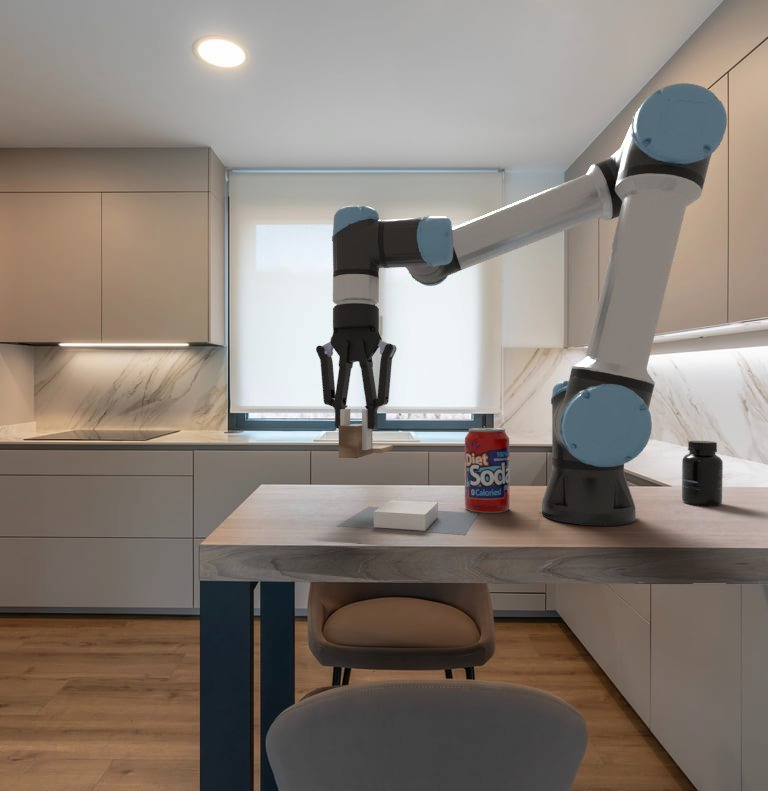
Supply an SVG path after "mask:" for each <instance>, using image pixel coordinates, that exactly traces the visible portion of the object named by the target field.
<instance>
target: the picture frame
mask: <svg viewBox="0 0 768 791" xmlns="http://www.w3.org/2000/svg"><path fill="white" fill-rule="evenodd" d="M438 511H439V502H436V501H434V502H433V501H417V500H400V499H399V500H398V499H397V500H395V499H390V500H389V501H387V502H386V503H384V504H383V505H382V506H380V508H378V509H377V510H375V511H374V527H378V528H393V529H407V530H423V531H425V530H426V529H427V528H428V527H429V526H430V525H431V524H432V523H433V522H434V521H435V520H436V518H437V517H438Z"/></svg>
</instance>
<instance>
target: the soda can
mask: <svg viewBox="0 0 768 791" xmlns="http://www.w3.org/2000/svg"><path fill="white" fill-rule="evenodd" d="M464 507H465V509H466V510H468V511H469V512H472V513H479V514H500V513H501V514H502V513H505V512H507V511H509V509H510V437H509V436H508V435H507V433H506V428H498V427H496V428H495V427H473V428H472V427H471V428H468V433H467V434H466V436H465V437H464Z"/></svg>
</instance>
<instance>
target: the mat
mask: <svg viewBox="0 0 768 791" xmlns="http://www.w3.org/2000/svg"><path fill="white" fill-rule="evenodd" d="M380 507H381V506H380ZM380 507H379V506H378V507H377V506H367V507H365V508H364V509H362V510H361V511H359V512H358V513H356V514H354V515H352V516H350V517H348V518H347V519H346V520H344V521H343V522H341V523H339V524H337V525H336V527H342V528H356V529H357V528H358V529H373V530H385V531H399V532H400V531H401V532H412V533H413V532H417V533H429V534H431V533H432V534H443V535H457V536H460V535H461V536H466V535H467V533H468V532H469V530H470V528H471V526H472V525H473V524H474V522H475V520H476V518H477V517H478V515H479V514H480V513H478V512H471V511H469V512H468V511H467V512H466V511H452V510H438V517H437V518H436V520H435V521H434V522H433V523H432V524H431V525H430V526H429V527H428V528H427V529H426V530H425V531H423V530H407V529H393V528H378V527H374V511H375V510H377V509H378V508H380Z"/></svg>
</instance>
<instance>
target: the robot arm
mask: <svg viewBox="0 0 768 791" xmlns="http://www.w3.org/2000/svg"><path fill="white" fill-rule="evenodd" d="M727 124H728V115H727V112H726V108H725V106H724V104H723V102H722V101H721V100H720V99H719V97H717V96H716V94H715V93H714V91H713V92H712V91H711V90H710V89H708V88H706V87H704V86H701V85H698V84H694V83H688V82H687V83H685V82H683V83H674V84H670V85H666V86H664V87H661V88H660V89H658V90H656V91H654V92H653V93H652V94H650V95H649V96H648V97H647V98H645V100H644V101H643V103H642V104H641V105H640V106H639V108H638V109H637V110H636V111H635V114H634V115H633V116H632V120H631V124H630V126H629V128H628V131H627V133H626V135H625V138H624V139H623V142H622V144H621V146H620V148H619V149H618V150H617V151H615V152H614V153H613V154H612V155H611V156H608V157H607V158H606V159H603V160H601V161H599V162H597V163H594V164H592V165H590V167H589V169H588V171H587V173H586V174H583V175H581V176H579V177H576V178H574V179H571V180H568V181H566V182H563V183H561V184H558V185H556V186H554V187H551V188H548V189H546V190H544V191H542V192H539V193H537V194H534V195H531V196H528V197H526V198H524V199H522V200H519V201H516V202H514V203H512V204H509V205H506V206H504V207H502V208H499V209H497V210H494V211H492V212H489V213H487V214H485V215H481V216H479V217H477V218H474V219H472V220H470V221H466V222H464V223H462V224H459V225H457V226H455V227H453V223H452V221H451V219H450V218H449V217H447V216H432V215H425V216H423V217H422V216H421V217H410V218H408V217H407V218H397V219H380V216H379V213H378V211H377V210H376V209H375V208H373V207H370V206H366V205H365V206H363V205H362V206H359V205H348V206H344V207H341V208H339V209H338V210H337V211H336V212H335V213H334V216H333V224H332V225H333V228H332V236H331V241H332V263H333V264H332V273H333V274H332V302H333V303H334V304H335V305H334V307H332V329H333V330H332V331H333V332H332V335H331V337H330V341H329V342H327V343H325V344H324V345H317V346H316V348H315V351H316V354H317V356H318V358H319V360H320V361H319V362H320V371H321V372H320V373H321V383H322V384H321V386H322V396H323V399H322V400H323V403H324V404H325V405H326V406H330V407H333V409H334V426H335V429H339V426H342V425H350V424H351V408H347V407H348V404H347V401H348V394H349V393H348V392H349V389H350V388H349V387H350V382H351V380H350V379H351V372H352V368H353V365H354V363H356V362H358V363H359V367H360V371H361V372H360V373H361V378H362V384H363V390H364V399H365V405H364V407H365V409H364V408H363V409H362V408H361V424H362V450H369V449H372V445H373V430H376V429H377V427H378V409H379V408H380V407H382V406H385V405H386V406H387V404H389V401H390V400H389V399H390V398H389V397H390V386H391V375H392V374H391V373H392V362H393V358H394V356H395V354H396V352H397V346H396V345H395V344H393V343H388V342H386V341H384V340H383V339H382V336H381V334H380V329H379V328H380V309H379V307H378V306H377V304H378V303H380V302H379V296H380V292H379V291H380V286H379V285H380V282H379V281H380V280H379V279H380V278H379V276H380V275H379V274H380V273H379V272H380V269H390V268H391V269H392V268H406V269H407V271H408V274H410V276H411V278H412V279H414V280H415V281H417V282H418V283H420V284H422V285H423V286H428V287H432V286H433V287H435V286H437V285H440V284H441V283H443V282H444V281H446V279H447V278H448V276H450V275H453V274H456V273H458V272H460V271H462V270H463V271H464V270H466V269H468V268H471V267H473V266H477V265H478V264H481V263H484V262H486V261H489V260H492V259H494V258H496V257H497V258H498V257H500V256H502V255H504V254H508V253H509V252H512V251H515V250H517V249H520V248H523V247H525V246H528V245H531V244H533V243H536V242H538V241H539V242H540V241H541V240H544V239H546V238H549V237H551V236H555V235H557V234H559V233H562V232H565V231H567V230H570V229H573V228H576V227H578V226H580V225H584V224H586V223H588V222H591V221H593V220H596V219H602V220H604V221H610V220H613V219H615V218H618V219H617V222H616V223H617V224H616V228H615V232H614V235H613V239H612V244H611V248H610V253H609V257H608V261H607V264H606V265H607V266H606V269H605V273H604V278H603V282H602V286H601V290H600V293H599V294H600V295H599V299H598V303H597V306H596V310H595V315H594V319H593V324H592V327H591V332H590V336H589V341H588V344H587V349H586V354H585V357H584V358H583V359H582V360H580V361H579V362H578V363H576V364H574V365H573V366H572V367H571V370H570V374H569V377H568V378H569V379H568V380H563V381H559V382H557V383H556V384H555V385H554V386H553V388H552V395H551V397H550V404H551V413H552V414H551V415H552V416H551V417H552V418H551V419H552V420H551V422H552V424H551V425H552V427H551V431H552V433H551V436H552V437H551V438H552V439H551V440H552V441H551V445H552V446H551V453H552V455H551V456H552V458H551V459H552V460H551V461H552V467H551V468H552V469H551V473H550V476H549V478H548V479H549V480H548V483H547V485H546V489H545V492H544V494H543V497H542V501H541V514H542V516H544V517H546V518H547V519H550V520H553V521H557V522H561V523H562V522H563V523H569V524H575V525H585V526H599V527H600V526H601V527H602V526H604V527H605V526H623V525H627V524H628V525H629V524H632V523H634V522H636V520H637V519H636V517H637V516H636V515H637V514H636V512H637V511H636V510H637V507H636V504H635V501H634V498H633V496H632V493H631V490H630V486H629V484H628V481H627V478H626V475H625V464H627V463H629V462H631V461H633V460H634V459H635V458H636V457H638V456H639V455H640V454H641V453H642V452H643V450H645V448H646V447H647V445H648V443H649V440H650V438H651V435H652V429H653V425H652V424H653V423H652V415H651V412H650V411H651V410H650V405H651V401H652V397H653V394H654V388H655V384H656V382H655V381H654V379H653V378H652V376H651V375H650V374H649V372H648V369H647V368H648V365H649V359H650V355H651V352H652V348H653V343H654V340H655V336H656V332H657V331H656V330H657V327H658V325H659V324H658V323H659V320H660V319H659V318H660V316H661V310H662V307H663V302H664V299H665V294H666V290H667V286H668V282H669V279H670V278H669V277H670V274H671V269H672V268H673V264H674V263H673V262H674V257H675V254H676V250H677V245H678V242H679V237H680V234H681V229H682V225H683V221H684V217H685V213H686V209H687V207H688V206H690V205H691V204H693V203H694V202H697V200H699V199H700V198H701V197H702V196H701V195H702V193H703V188H704V184H705V183H706V177H707V173H708V168H709V165H710V160H711V157H712V155H713V153H714V152H716V150H717V149H718V148H719V147H720V145H721V143H722V142H723V138H724V136H725V134H726V133H725V132H726V130H727ZM378 349H379V354H380V355H381V357H380V360H379V361H380V362H379V365H380V366H379V372H378V373H379V374H378V375H379V376H378V387H377V388H378V389H377V388H376V384H375V383H376V382H375V376H374V375H375V374H374V368H373V367H374V362H373V356H374V355H375V353H376V352H377V350H378ZM334 351H335V352H336V354H337V356H338V357H339V359H338V374H337V381H336V384H335V375H334V374H335V373H334V364H333V363H334V361H333V357H332V356H333V354H334ZM335 385H336V387H335Z"/></svg>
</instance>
